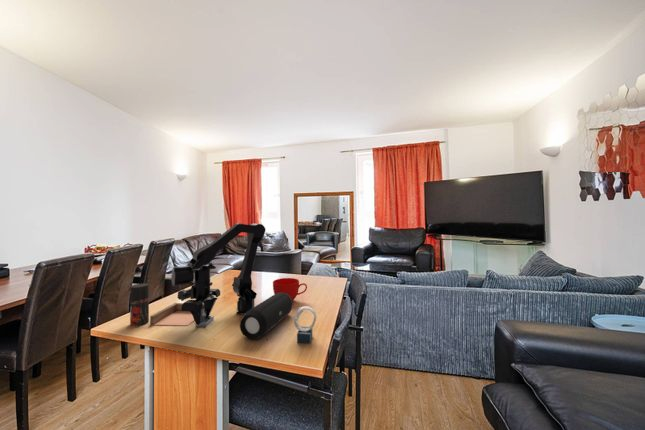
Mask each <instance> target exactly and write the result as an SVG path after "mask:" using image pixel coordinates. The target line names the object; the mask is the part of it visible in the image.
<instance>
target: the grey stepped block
mask: <svg viewBox="0 0 645 430" xmlns="http://www.w3.org/2000/svg"><path fill="white" fill-rule="evenodd" d="M214 317H215V316H214V315H209V316H207V310H204V311H203V314H202V317H201V321H200V324H199V325H196V324H195V327H197V328H206V327H208V326H209V325H210V324H211V323H212V322H214V320H215V319H214Z"/></svg>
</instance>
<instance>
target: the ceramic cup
mask: <svg viewBox="0 0 645 430" xmlns="http://www.w3.org/2000/svg"><path fill="white" fill-rule="evenodd" d="M301 286H305V288H304V290H302V291H300V292H299V289H300V287H301ZM307 289H308V285H307V283H305V282H302V283H300V280H299V279H298V278H293V277H284V278H282V277H281V278H277V279H275V280H273V281H272V290H273V295H275V294H276V293H286V294H288V295H289V296H290V297H291V299H292V303H293V301H294V300H295V299H297V296H299V295H302V294H304V293H305V292H306V291H307Z"/></svg>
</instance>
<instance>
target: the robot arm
mask: <svg viewBox="0 0 645 430" xmlns="http://www.w3.org/2000/svg"><path fill="white" fill-rule="evenodd" d="M241 233H245V234H246V238H247V245H246V248H245V253H244V257H243V261H242V263H241V269H240V272H239V274H238V276H234V277H233V282H232V285H231V287H232V291H233V292H234V294H236V296H237V297H238V299H237V301H236V304H237V305H236V314H237V315H240V314H241V315H242V314H243V315H244V314H245V313H246V312H247V311H249V310H250V309H252V308H254V307H255V299H257V295H258V293H257V292H255V291H254V290H253V289H252V287H253V280H252V273H253V269H254V264H255V259H256V256H257V252H258V247H259V244H260V243H261V241H263V238H264V236H265V233H266V227H265V225H264V224H262V223H251V224H246V223H242V222H241V223H239V222H236V223H234V224H233V225H232V226H231V227H230V228H229V229H227V230H226V231H224V232H223V233H222V234H221V235H219V237H216V238H215V239H214V240H213V241H212V242H210V243H208V244H205V245H204V246H202V247H200V248H198V249H196V250H195V251H194V252H193V253H192V258H191V259H190V260H189V262H188V263H187V264H186V265H185V266H173V268H172V274H171V276H170V277H171V284H172V286H173V287H176V286H182V285H188V284H191V283H192V282H194V284H192V285H191V287H190V288H188V289H182V290H179V291H178V292H177V299H178V300H180V301H181V302H182V303H183V304H182V305H181V311H189V312H191V314H192V316H193V318H194V323H195V326H196V325H199V324H200V321H201V317H202V314H203V311H204V310H207V316H211V312H212V310H213V308H214V306H215V304H216V302H217V300H218V298H219V297H220V296H221V290H220V289H219V288H211V287H212V285H213V281H212V282H211V270H214V269H216V268H217V267H216V266H215V265H214V264H213V263H212V261H213V260H214V259H215V257H216V256H217V255H218V253H219V251H220V250H222V248H224V247H226V245H228V244H229V243H230V242H231V241H233V240H234V239H235V238H236V237H237V236H239V235H240V234H241ZM203 303H204V307H202V306H203Z"/></svg>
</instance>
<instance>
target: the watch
mask: <svg viewBox="0 0 645 430" xmlns="http://www.w3.org/2000/svg"><path fill="white" fill-rule="evenodd" d="M304 310H306V311H310V312H311V313H312V314H313V321H312V323H311V324H310V325H309V326H301V325H299V324H298V320H299V319H300V317H301V315H302V313H303V312H304ZM292 321H293V325H294V327H295V328H296V330H298V331H297V333H296V343H297V344H304V345H305V344H306V345H307V344H308V345H310V344H311V343H312V342H311V341H312V338H313V328H314V326H315V323H316V321H317V313H316V311H315V309H314V308H312V307H311V306H308V305H307V306H306V305H303V306H301V307H300V306H299V308H298V309H297V312H296V313H295V315H294V317H293V319H292Z"/></svg>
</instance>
